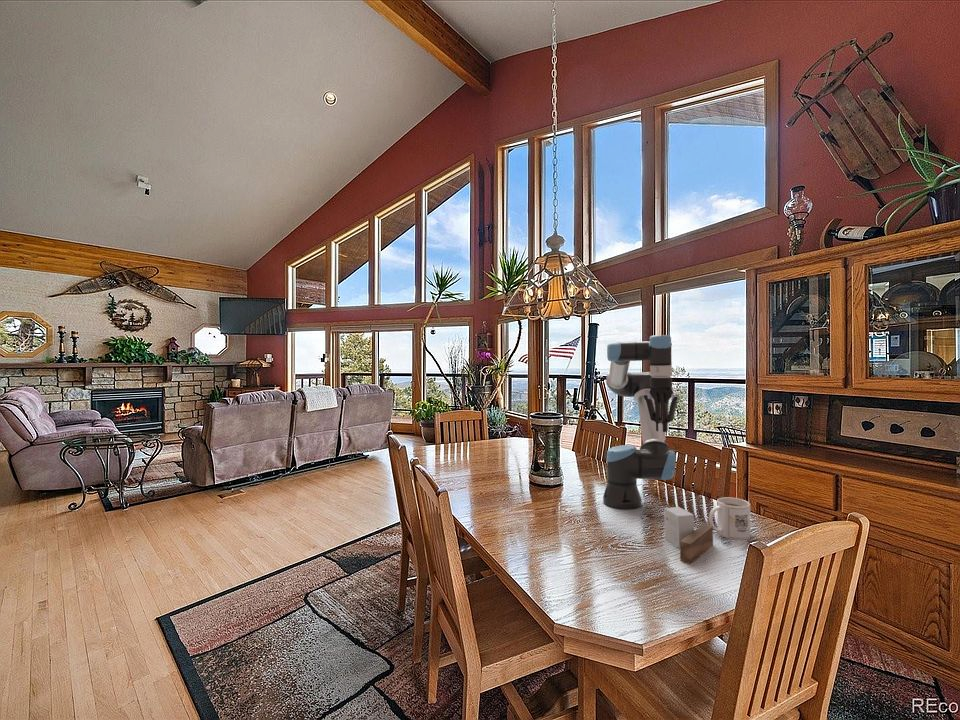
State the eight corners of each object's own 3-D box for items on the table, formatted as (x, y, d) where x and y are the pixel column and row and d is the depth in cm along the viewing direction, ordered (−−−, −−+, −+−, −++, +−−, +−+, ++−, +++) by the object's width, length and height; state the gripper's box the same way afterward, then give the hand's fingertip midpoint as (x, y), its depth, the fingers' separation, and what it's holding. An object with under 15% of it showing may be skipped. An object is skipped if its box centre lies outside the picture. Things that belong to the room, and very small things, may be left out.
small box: (695, 547, 143) (694, 514, 143) (679, 549, 142) (678, 516, 142) (679, 537, 151) (679, 506, 151) (664, 539, 150) (663, 507, 150)
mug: (750, 543, 145) (749, 509, 145) (708, 536, 151) (708, 503, 151) (750, 531, 154) (750, 499, 154) (711, 525, 160) (711, 494, 160)
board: (680, 561, 134) (680, 541, 134) (703, 542, 146) (702, 524, 146) (690, 564, 132) (690, 544, 132) (713, 545, 144) (712, 526, 144)
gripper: (639, 377, 168) (640, 439, 169) (674, 377, 159) (675, 444, 159) (648, 376, 173) (649, 436, 174) (683, 376, 164) (684, 441, 164)
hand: (662, 440), depth 167 cm, fingers closed
